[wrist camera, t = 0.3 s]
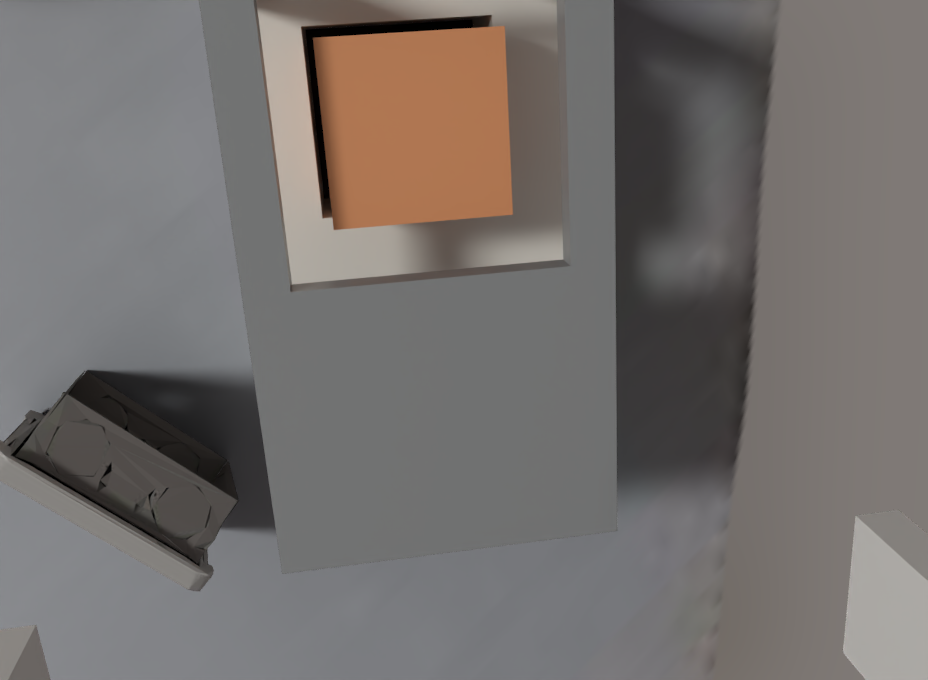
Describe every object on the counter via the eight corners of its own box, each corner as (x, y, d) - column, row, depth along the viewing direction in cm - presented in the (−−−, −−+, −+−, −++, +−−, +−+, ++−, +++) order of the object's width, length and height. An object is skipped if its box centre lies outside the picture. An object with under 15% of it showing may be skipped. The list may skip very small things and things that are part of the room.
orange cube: (317, 40, 33) (312, 37, 27) (475, 30, 34) (504, 25, 28) (334, 200, 35) (333, 230, 29) (483, 188, 36) (513, 214, 30)
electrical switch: (21, 421, 40) (-52, 505, 31) (88, 331, 40) (34, 391, 31) (197, 527, 43) (175, 632, 34) (261, 444, 43) (256, 528, 34)
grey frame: (237, -19, 36) (191, -52, 24) (528, -35, 37) (613, -74, 26) (296, 433, 42) (282, 574, 31) (543, 406, 43) (617, 531, 32)
